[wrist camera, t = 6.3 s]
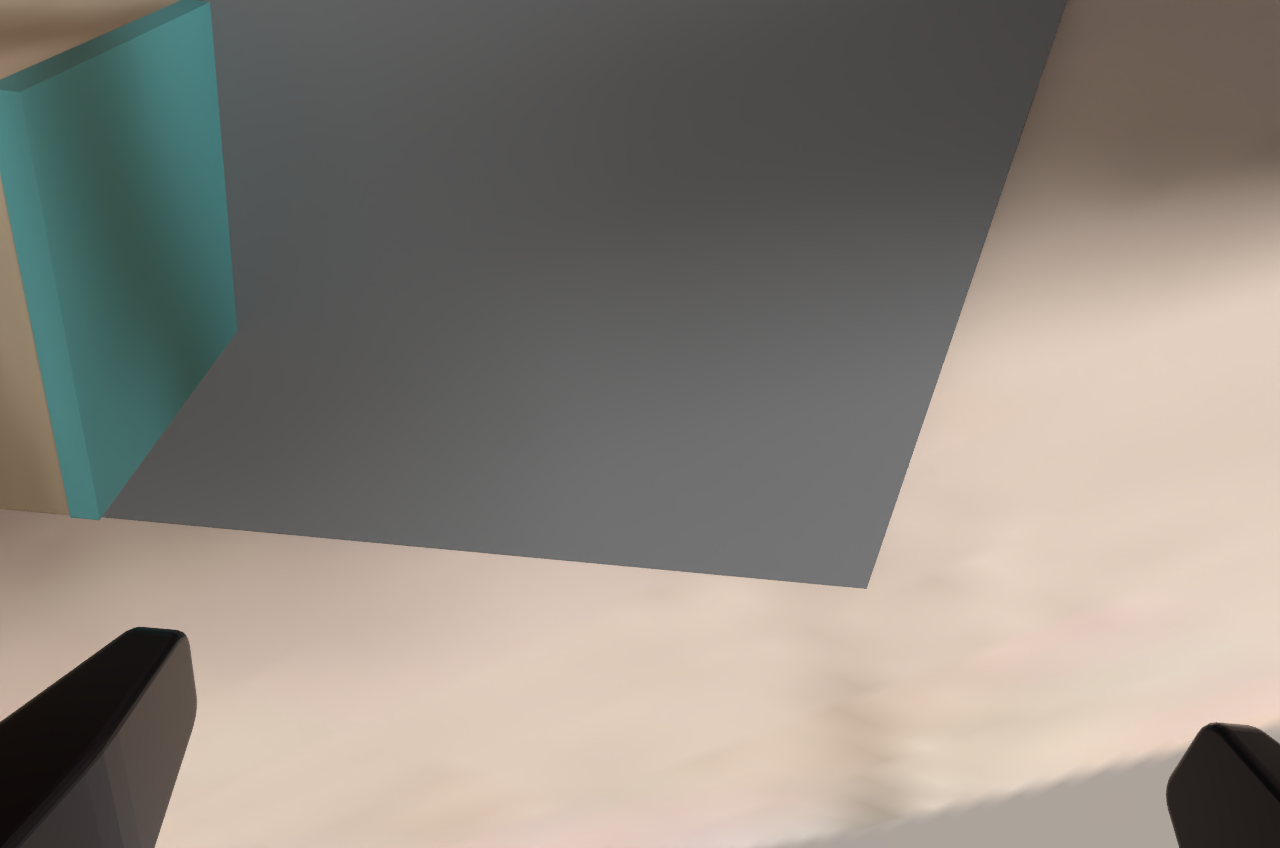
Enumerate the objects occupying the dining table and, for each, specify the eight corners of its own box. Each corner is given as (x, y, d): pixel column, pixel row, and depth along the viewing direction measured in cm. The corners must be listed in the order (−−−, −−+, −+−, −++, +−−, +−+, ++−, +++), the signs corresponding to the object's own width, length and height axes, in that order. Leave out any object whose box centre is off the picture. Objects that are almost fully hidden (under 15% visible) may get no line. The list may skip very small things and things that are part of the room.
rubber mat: (1080, -72, 16) (1090, -70, 16) (862, 577, 24) (866, 588, 23) (-841, -379, 14) (-878, -383, 13) (-417, 456, 21) (-434, 467, 21)
